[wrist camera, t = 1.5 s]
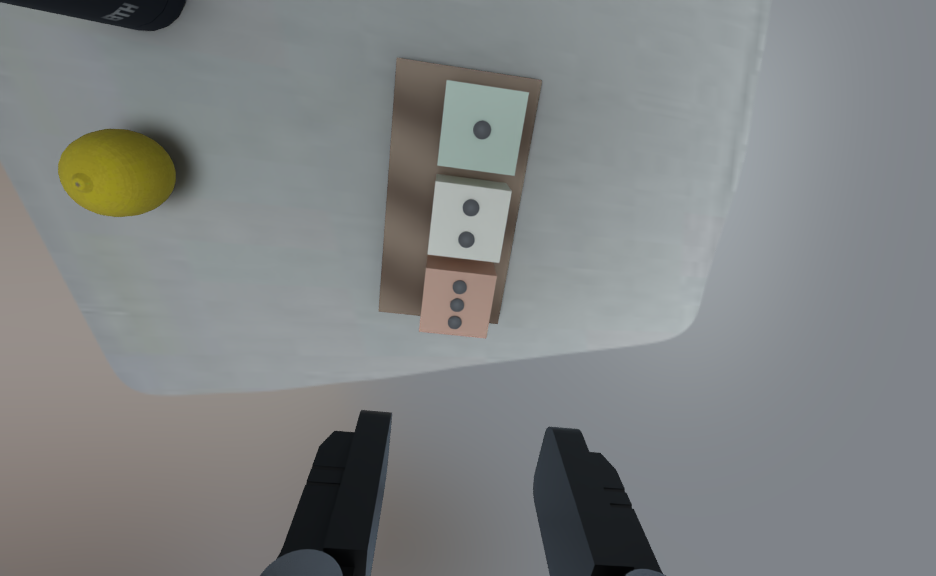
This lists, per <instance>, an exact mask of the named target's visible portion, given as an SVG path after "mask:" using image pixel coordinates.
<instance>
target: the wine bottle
mask: <svg viewBox="0 0 936 576" xmlns="http://www.w3.org/2000/svg"><path fill="white" fill-rule="evenodd" d="M0 2H2V3H7V4H12V5H17V6H22V7H27V8H31V9H36V10H41V11H46V12H51V13H56V14H61V15H66V16H71V17H76V18H81V19H86V20H91V21H95V22H100V23H105V24H110V25H115V26H121V27H125V28H130V29H135V30H146V31H155V30H158V29H161V28H164V27H166V26H168V25H170V24H171V23H172V22H173V21H174V20H175V19H176V18H177V17H178V16H179V14H180V12H181V10H182V8H183V6H184V4H185V0H0Z"/></svg>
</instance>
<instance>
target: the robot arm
mask: <svg viewBox="0 0 936 576" xmlns="http://www.w3.org/2000/svg"><path fill="white" fill-rule="evenodd" d="M391 420H392V413H389V412H378V411H367V410H361V412H360V415H359V418H358V422H357V426H356V429H355V432H343V431H334V432H333V433H332V434H331V435H330V436H329V437H328V438H327V439H326V440H325V441H324V442H323V443H322V444H321V445H320V446H319V449H318V452H317V454H316V457H315V460H314V463H313V466H312V469H311V471H310V474H309V476H308V479H307V484H306V485H305V488H304V490H303V493H302V496H301V498H300V501H299V504H298V507H297V509H296V512H295V515H294V518H293V520H292V524H291V526H290V529H289V531H288V534H287V537H286V540H285V543H284V546H283V548H282V550H281V553H280V554H279V556H278V557H277V559H276V560H275V561H274V562H272V563H271V564H270V565H269V566H268V567H267V568H266V569H265V570H264V571H263V573H262V574H261V575H260V576H371V570H372V563H373V557H374V551H375V545H376V539H377V532H378V526H379V519H380V514H381V507H382V500H383V495H384V488H385V481H386V473H387V465H388V453H389V443H390V433H391V422H392V421H391ZM533 495H534V503H535V507H536V512H537V517H538V522H539V527H540V531H541V536H542V541H543V545H544V550H545V555H546V559H547V564H548V568H549V574H550V576H666V575H664V574H663V573H662V571H661V569H660V567H659V565H658V562H657V560H656V558H655V556H654V553H653V551H652V549H651V547H650V544H649V542H648V540H647V538H646V536H645V533H644V531H643V529H642V527H641V524H640V522H639V520H638V518H637V515H636V513H635V511H634V509H632V504H631V502H630V500H629V498H628V495H627V493H625V491H624V487H623V484H622V482H621V480H620V477H619V475H618V473H617V471H616V469H615V468H614V467H613V466H612V465H611V464H610V463H609V462H608V461H607V460H606V458H605V457H604V456H603V455H602V454H601V453H594V452H589V450H588V448H587V445H586V443H585V440H584V437H583V435H582V433H581V431H580V430H579V429H571V428H559V427H548V428H547V429H546V432H545V435H544V439H543V443H542V447H541V451H540V455H539V459H538V463H537V467H536V471H535V475H534V484H533Z"/></svg>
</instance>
